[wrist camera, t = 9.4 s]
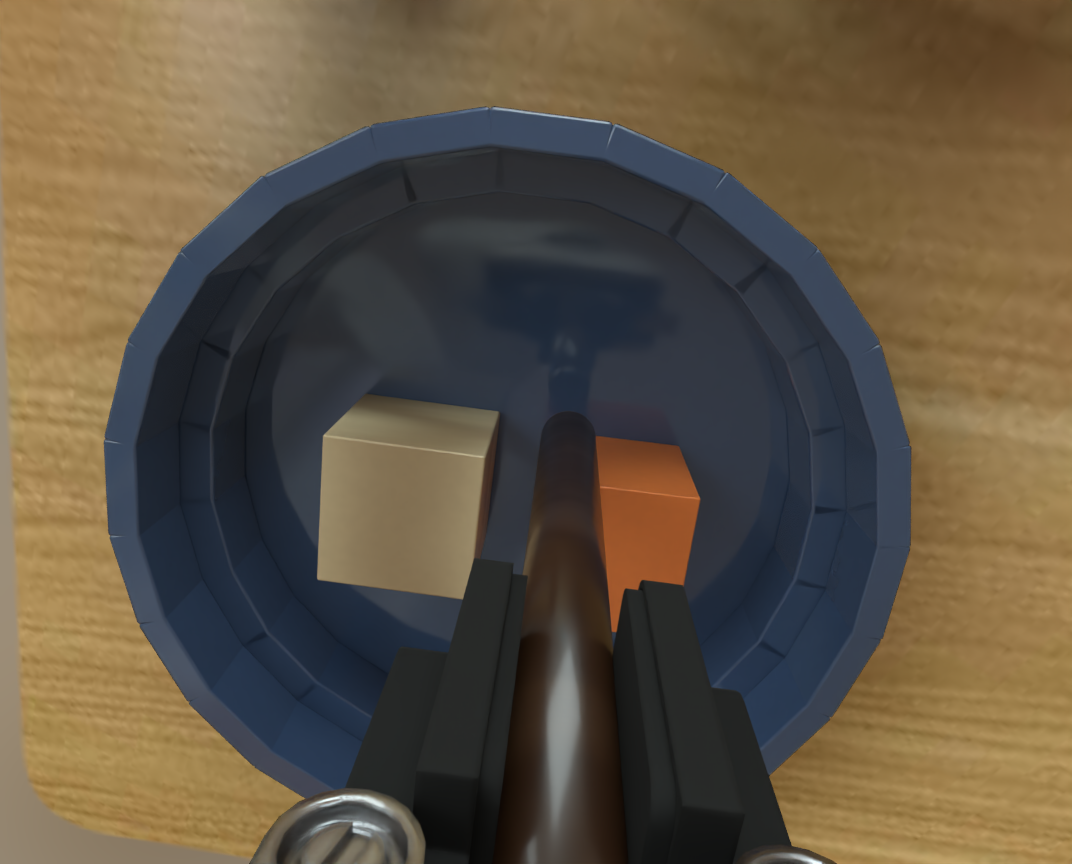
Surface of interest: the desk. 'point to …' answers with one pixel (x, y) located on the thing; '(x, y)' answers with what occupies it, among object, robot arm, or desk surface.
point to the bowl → (523, 402)
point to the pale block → (406, 495)
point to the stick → (564, 673)
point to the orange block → (644, 514)
